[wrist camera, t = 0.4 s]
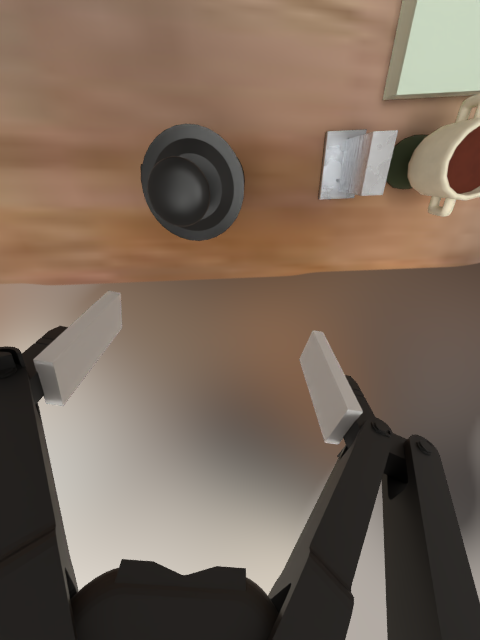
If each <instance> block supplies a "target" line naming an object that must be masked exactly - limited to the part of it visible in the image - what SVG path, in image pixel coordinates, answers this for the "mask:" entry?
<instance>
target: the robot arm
mask: <svg viewBox="0 0 480 640" xmlns="http://www.w3.org/2000/svg"><path fill="white" fill-rule="evenodd" d="M121 329H122V313H121V293H118V292H113V291H108V292H106V293H105V294H104V295H103V296H102V297H101V298H100V299H99V300H98V301H96V302H95V303H94V304H93V305H92V306H91V307H90V308H89V309H88V310H87V311H86V312H84V313H83V314H82V315H81V316H80V317H79V318H78V319H77V320H76V321H75V322H74V323H73V324H71V325H70V326H69V327H63V326H59V327H57V328H54V329H52V330H50V331H48V332H47V333H46V334H45V335H44V336H43V337H42V338H40V339H39V340H38V341H37V342H36V343H35V344H33V345H32V346H31V347H30V348H28V349H27V350H26V351H25V352H24V353H21V352H20V350H19V349H17V348H15V347H0V640H345V638H346V634H347V630H348V626H349V623H350V619H351V615H352V610H353V605H354V597H353V595H352V593H351V586H352V582H353V578H354V575H355V571H356V568H357V564H358V560H359V557H360V553H361V549H362V546H363V543H364V539H365V536H366V532H367V529H368V525H369V522H370V518H371V514H372V511H373V508H374V504H375V500H376V497H377V493H378V490H379V486H380V483H381V479H382V498H383V524H384V550H385V551H384V552H385V579H386V606H387V632H388V640H480V602H479V599H478V595H477V591H476V588H475V584H474V580H473V577H472V573H471V569H470V565H469V562H468V558H467V555H466V551H465V547H464V543H463V540H462V536H461V532H460V528H459V525H458V521H457V517H456V514H455V511H454V506H453V503H452V499H451V495H450V492H449V488H448V484H447V480H446V477H445V473H444V469H443V466H442V462H441V458H440V455H439V453H438V451H437V449H436V448H435V447H434V445H433V444H432V443H430V442H429V441H428V440H426V439H425V438H423V437H421V436H419V435H412V436H410V437H409V439H405V438H402V437H401V436H398V435H396V434H394V433H392V431H391V429H390V428H389V426H388V425H387V424H386V423H384V422H383V421H382V420H380V419H378V418H376V417H375V416H374V414H373V412H372V410H371V408H370V406H369V405H368V403H367V401H366V399H365V398H364V395H363V393H362V392H361V390H360V388H359V386H358V384H357V383H356V382H355V381H354V379H353V378H351V376H347V375H344V373H343V371H342V369H341V367H340V365H339V363H338V361H337V359H336V357H335V355H334V353H333V351H332V349H331V347H330V345H329V343H328V341H327V339H326V337H325V335H324V333H323V332H320V331H314V330H313V331H312V333H311V335H310V338H309V340H308V342H307V344H306V346H305V349H304V350H303V353H302V355H301V357H300V363H301V366H302V369H303V373H304V376H305V379H306V382H307V386H308V389H309V392H310V396H311V399H312V402H313V405H314V409H315V412H316V415H317V418H318V421H319V425H320V428H321V431H322V435H323V438H324V441H325V443H332V444H339V443H340V442H341V440H342V439H343V438H344V440H345V443H346V446H345V447H344V448H343V449H342V451H341V452H340V453H339V455H338V457H339V458H338V460H337V462H336V464H335V466H334V468H333V470H332V472H331V474H330V477H329V479H328V480H327V483H326V485H325V487H324V489H323V491H322V493H321V495H320V497H319V499H318V501H317V503H316V505H315V507H314V509H313V511H312V513H311V515H310V517H309V519H308V521H307V523H306V525H305V527H304V529H303V531H302V533H301V535H300V537H299V539H298V542H297V543H296V545H295V547H294V549H293V551H292V553H291V556H290V558H289V560H288V562H287V564H286V566H285V568H284V570H283V571H282V573H281V575H280V577H279V578H278V579H277V581H276V582H275V584H274V586H273V588H272V589H271V591H270V593H269V595H268V596H267V594H266V593H265V592H264V591H263V590H262V589H261V588H260V587H259V586H258V585H257V584H256V583H254V582H253V581H252V580H250V579H248V578H246V569H245V568H232V567H219V566H216V567H213V568H209V569H206V570H203V571H199V572H196V573H193V574H189V575H181V574H179V573H176V572H174V571H172V570H170V569H168V568H166V567H164V566H162V565H159V564H157V563H155V562H152V561H138V560H125V559H122V561H121V564H120V567H119V568H116V569H113V570H111V571H108V572H106V573H104V574H102V575H100V576H99V577H97V578H95V579H94V580H92V581H91V582H90V583H88V584H87V585H85V586H84V587H83V588H82V589H81V590H80V591H79V592H78V587H77V583H76V578H75V574H74V570H73V566H72V563H71V559H70V555H69V550H68V545H67V540H66V535H65V531H64V526H63V521H62V516H61V511H60V507H59V502H58V497H57V492H56V488H55V483H54V478H53V473H52V468H51V464H50V459H49V454H48V449H47V444H46V439H45V434H44V430H43V425H42V420H41V415H40V410H39V406H38V403H37V402H38V401H39V400H40V399H41V398H42V397H43V396H44V398H45V402H46V404H53V405H60V406H64V405H65V403H66V402H67V401H68V399H69V398H70V397H71V395H72V394H73V393H74V391H75V390H76V389H77V387H78V386H79V385H80V383H81V382H82V381H83V379H84V378H85V377H86V375H87V374H88V372H89V371H90V370H91V369H92V367H93V366H94V364H95V363H96V362H97V361H98V359H99V358H100V357H101V355H102V354H103V352H104V351H105V350H106V349H107V347H108V346H109V344H110V343H111V342H112V341H113V339H114V338H115V337H116V335H117V334H118V333H119V331H120V330H121Z"/></svg>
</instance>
